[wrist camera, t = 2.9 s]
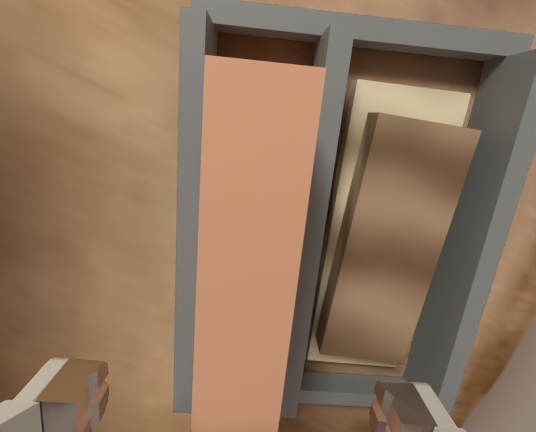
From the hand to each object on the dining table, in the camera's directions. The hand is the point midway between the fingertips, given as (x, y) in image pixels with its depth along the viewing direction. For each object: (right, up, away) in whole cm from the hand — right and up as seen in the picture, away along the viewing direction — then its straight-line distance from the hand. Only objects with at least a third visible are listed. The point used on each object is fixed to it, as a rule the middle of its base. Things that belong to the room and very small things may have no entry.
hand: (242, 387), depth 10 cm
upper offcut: (+9, +3, +13) cm, 16 cm away
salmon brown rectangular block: (0, +4, +14) cm, 14 cm away
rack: (+5, +4, +14) cm, 15 cm away
